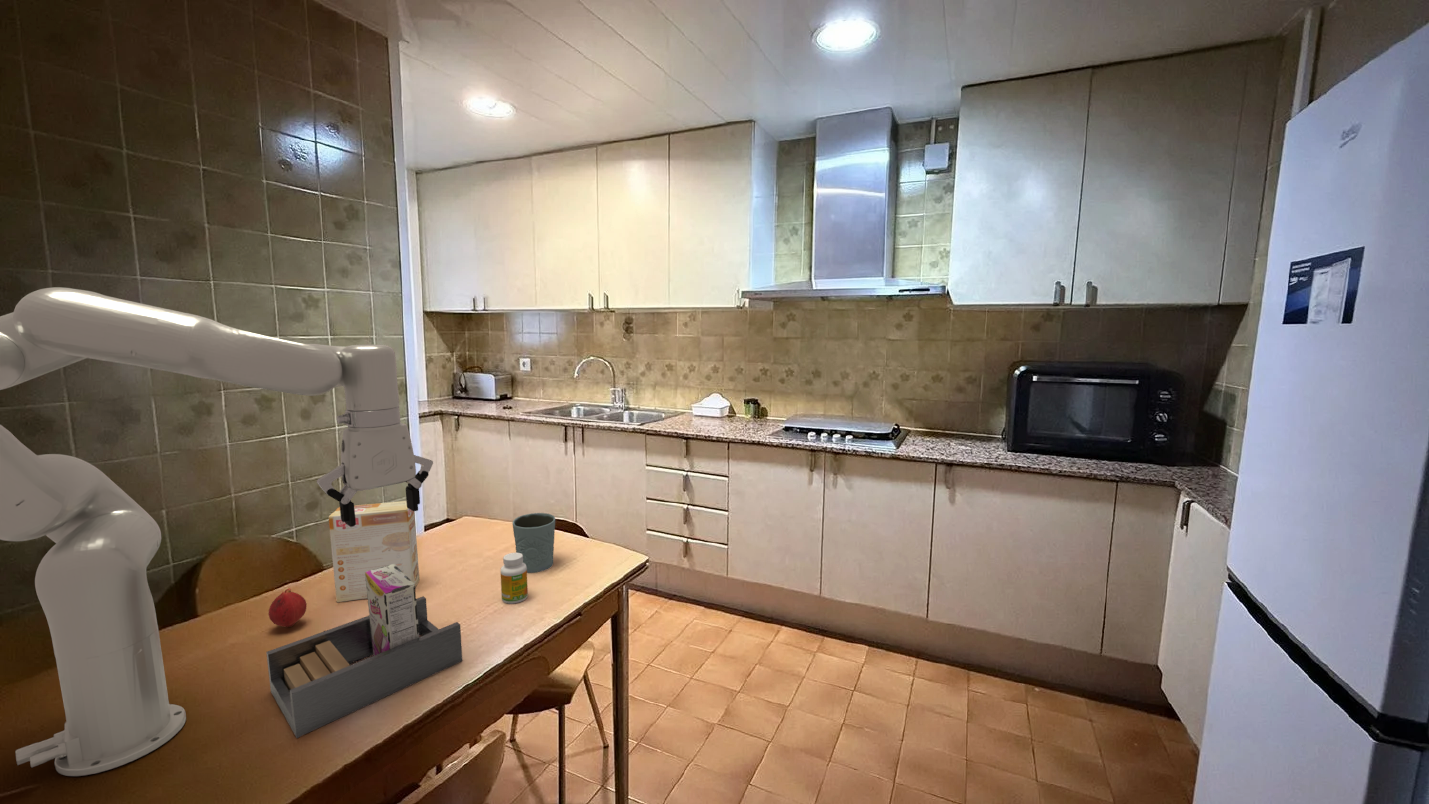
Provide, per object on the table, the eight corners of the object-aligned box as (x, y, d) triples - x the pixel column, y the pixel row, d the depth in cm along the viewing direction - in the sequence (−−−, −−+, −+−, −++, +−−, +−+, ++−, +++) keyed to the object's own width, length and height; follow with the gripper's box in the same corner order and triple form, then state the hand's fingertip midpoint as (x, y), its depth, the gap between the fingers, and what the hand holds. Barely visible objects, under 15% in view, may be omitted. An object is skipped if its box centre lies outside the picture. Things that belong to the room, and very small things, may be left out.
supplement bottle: (512, 606, 115) (510, 563, 114) (496, 600, 118) (494, 557, 116) (533, 596, 119) (531, 554, 118) (517, 590, 122) (515, 549, 121)
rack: (296, 738, 78) (291, 693, 77) (270, 691, 88) (266, 651, 87) (462, 660, 96) (460, 624, 95) (425, 629, 106) (423, 596, 105)
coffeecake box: (420, 579, 127) (414, 499, 124) (413, 593, 120) (407, 509, 118) (346, 588, 122) (338, 505, 120) (335, 603, 116) (327, 516, 113)
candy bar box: (370, 657, 97) (363, 571, 95) (401, 645, 101) (395, 562, 98) (391, 686, 89) (383, 592, 87) (423, 672, 93) (417, 582, 91)
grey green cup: (540, 554, 142) (538, 510, 140) (565, 564, 136) (564, 518, 134) (505, 567, 133) (503, 521, 132) (530, 578, 128) (529, 530, 126)
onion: (287, 636, 103) (283, 597, 102) (262, 633, 104) (258, 594, 103) (315, 620, 109) (311, 583, 108) (291, 617, 110) (287, 580, 109)
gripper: (319, 428, 81) (330, 537, 84) (437, 414, 95) (443, 508, 97) (305, 422, 86) (315, 525, 88) (419, 410, 99) (426, 500, 102)
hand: (382, 516), depth 93 cm, fingers open, 9 cm apart
